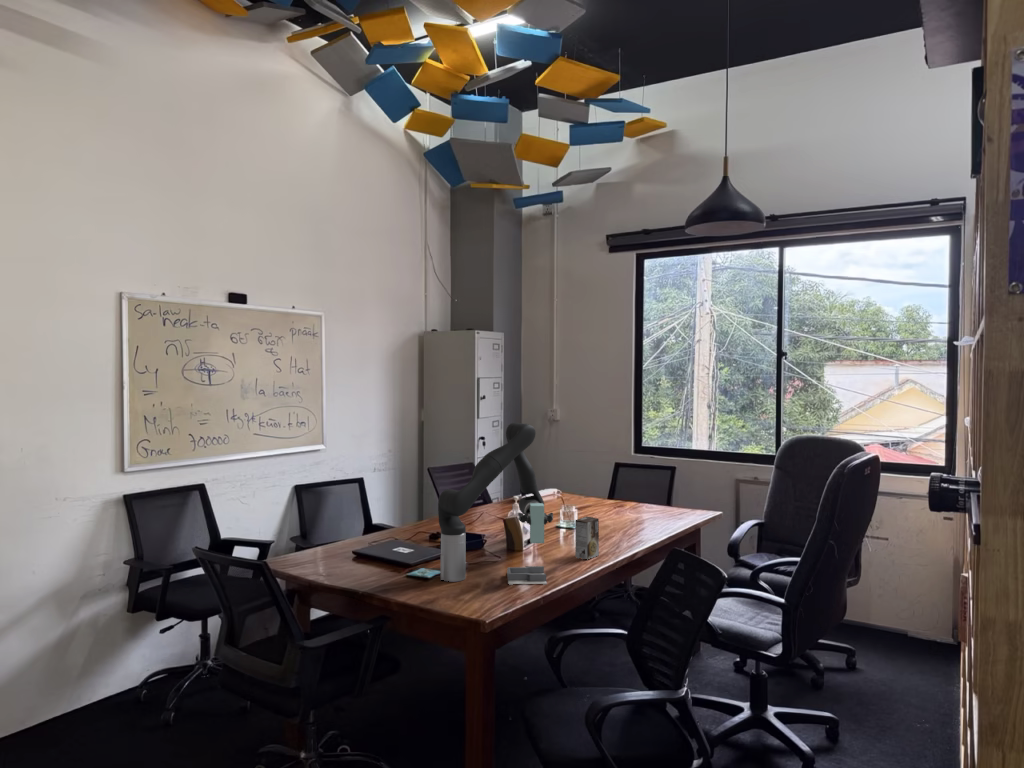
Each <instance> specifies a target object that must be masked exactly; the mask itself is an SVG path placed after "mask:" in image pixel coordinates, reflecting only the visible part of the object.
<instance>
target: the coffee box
mask: <svg viewBox="0 0 1024 768" xmlns="http://www.w3.org/2000/svg"><path fill="white" fill-rule="evenodd" d="M574 522H575V526H574V527H575V529H574V530H575V543H574V544H575V545H574V546H575V549H574V550H575V553H574V554H575V555H574V556H575V557H577V558H576V559H579V558H582V559H581V560H583V559H587V560H586V561H589V560H588V559H590V558H592V559H594V558H597V557H599V556H600V548H599V547H600V542H599V541H600V539H599V538H600V535H599V534H600V532H599V531H600V529H599V527H600V526H599V524H600V523H599V522H600V519H599V518H597V517H593V516H584V517H581V518H578V519H575V521H574ZM598 555H599V556H598ZM596 556H597V557H596ZM575 557H574V558H575ZM593 557H594V558H593ZM590 560H591V559H590Z"/></svg>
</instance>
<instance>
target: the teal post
mask: <svg viewBox="0 0 1024 768" xmlns="http://www.w3.org/2000/svg"><path fill="white" fill-rule="evenodd" d="M544 513H545V503H544V504H543V503H530V518H531V525H529V542H530V544H545V525H544Z"/></svg>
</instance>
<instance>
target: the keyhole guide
mask: <svg viewBox="0 0 1024 768" xmlns="http://www.w3.org/2000/svg"><path fill="white" fill-rule="evenodd" d="M506 571H507V572H506V574H507V575H506V576H507V584H509V585H508V586H514V585H513V584H543V585H548V582H547V573H545V566H544V565H540V566H539V565H536V566H535V565H534V566H533V565H532V566H531V565H529V566H525V567H523V566H521V567H520V566H519V567H518V566H517V567H516V566H515V567H514V566H513V567H512V566H511V567H509V566H508V567H507V568H506Z"/></svg>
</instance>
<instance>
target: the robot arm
mask: <svg viewBox="0 0 1024 768" xmlns="http://www.w3.org/2000/svg"><path fill="white" fill-rule="evenodd" d="M536 432H537V431H536V429H535V427H534V426H533V425H532V424H528V423H522V422H521V423H520V422H511V423H510V424H508V425H507V428H506V431H505V437H506V441H507V443H505V444H503V445H501V446H499V447H498V448H495V449H493V450H491V451H490V452H487V453H486V454H485V455H484V456H483V457H482V458H481V459H480V460H479V461H478V462H477V463H476V464H475V466H474V469H473V472H472V476H471V478H470V480H469V481H468V482H467V484H466V485H465V486H464V487H463V488H461V489H460V490H456V489H451V488H450V489H445V490H443V491H442V492H441V493H440V495H439V497H438V502H437V513H438V516H437V517H438V524H439V525H438V526H439V527H440V581H441V580H444V581H443V582H448V581H449V582H451V583H453V582H462V581H464V580H466V568H467V567H466V561H467V560H466V557H467V556H466V555H467V554H466V552H467V551H466V544H467V541H466V540H467V539H466V536H467V535H466V532H467V531H466V529H467V528H466V525H465V523H463V521H462V520H461V518H460V516H463V515H465V514H466V513H468V511H469V510H470V509H471V507H472V506H473V505H474V503H475V502H476V501H477V499H479V497H480V495H482V493H483V492H484V491H485V490H486V489H487V488H488V487H489V486H490V484H491V483H492V482H493V481H495V479H497V478H498V476H499V475H501V473H502V472H503V471H504V470H506V468H507V467H508V465H510V463H512V462H513V461H514V465H515V468H516V472H517V477H518V483H519V489H520V491H521V493H524V494H531V495H528V496H524V497H521V498H520V499H519V500H518V508H519V510H520V512H519V513H517V514H518V515H517V516H518V519H517V520H518V521H520V522H521V523H523V524H524V523H526V524H528V525H529V526H530V525H531V518H530V503H543V504H544V505H545V502H544V499H543V497H542V495H541V493H540V491H539V487H538V484H537V479H536V473H535V470H534V467H533V465H532V464H531V462H530V461H529V459H528V457H527V456H526V453H525V452H524V451H525V450H526V449H527V448H528V447H530V446H531V445H532V443H533V442H534V441H535V439H536V434H537V433H536ZM553 521H554V513H553V512H549V513H548V514H547V513H546V512H544V526H545V525H547V524H549V523H552V522H553Z"/></svg>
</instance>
